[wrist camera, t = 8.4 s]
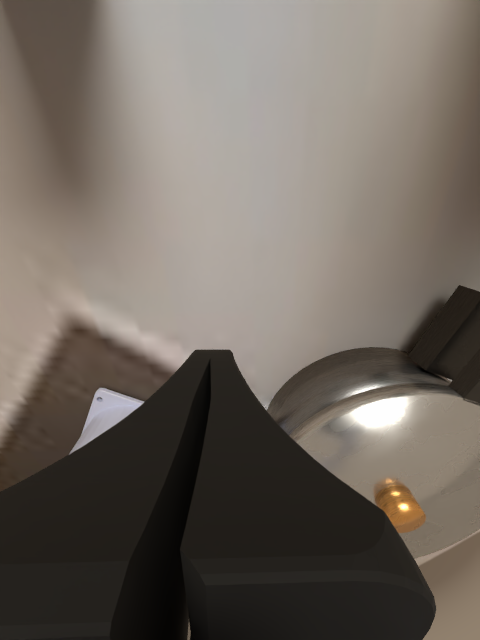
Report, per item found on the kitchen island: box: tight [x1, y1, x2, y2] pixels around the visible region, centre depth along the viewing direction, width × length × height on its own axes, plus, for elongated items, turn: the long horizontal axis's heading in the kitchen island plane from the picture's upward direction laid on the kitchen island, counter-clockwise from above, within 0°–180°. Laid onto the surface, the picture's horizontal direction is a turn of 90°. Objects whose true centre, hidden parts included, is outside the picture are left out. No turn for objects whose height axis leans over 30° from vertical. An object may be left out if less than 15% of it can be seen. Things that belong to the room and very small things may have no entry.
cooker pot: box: [267, 285, 480, 435], centre depth 21 cm, size 24×18×5 cm
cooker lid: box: [289, 349, 480, 559], centre depth 17 cm, size 25×18×3 cm
